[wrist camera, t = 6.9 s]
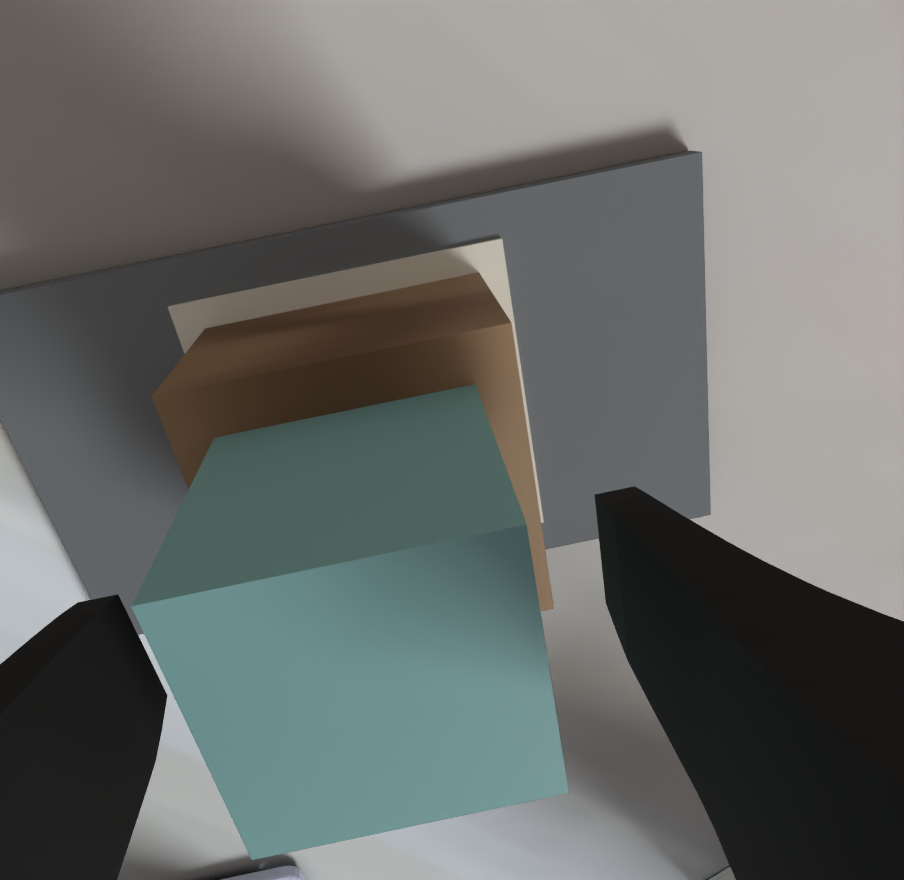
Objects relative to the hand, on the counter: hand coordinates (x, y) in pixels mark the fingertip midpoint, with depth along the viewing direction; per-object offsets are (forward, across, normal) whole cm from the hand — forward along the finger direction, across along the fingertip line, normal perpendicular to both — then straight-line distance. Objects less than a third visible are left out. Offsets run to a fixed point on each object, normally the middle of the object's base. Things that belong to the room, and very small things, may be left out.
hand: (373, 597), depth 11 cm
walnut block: (+6, 0, 0) cm, 6 cm away
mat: (+7, 0, 0) cm, 7 cm away
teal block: (+2, 0, 0) cm, 3 cm away
